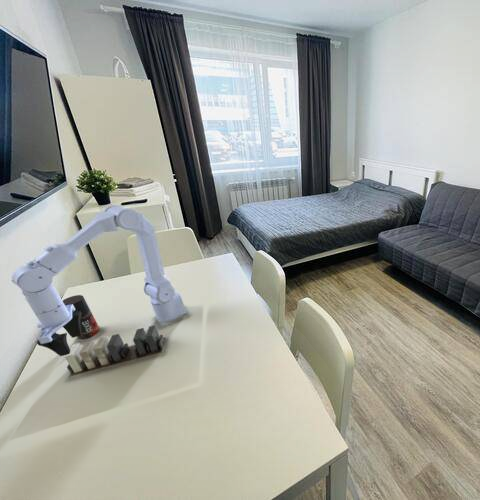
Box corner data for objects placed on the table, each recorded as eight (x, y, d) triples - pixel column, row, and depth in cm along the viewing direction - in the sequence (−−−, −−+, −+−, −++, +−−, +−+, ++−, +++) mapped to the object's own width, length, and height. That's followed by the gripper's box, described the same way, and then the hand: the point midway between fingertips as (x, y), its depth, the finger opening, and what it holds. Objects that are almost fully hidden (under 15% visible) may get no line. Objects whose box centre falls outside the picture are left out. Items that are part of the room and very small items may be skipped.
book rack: (166, 339, 92) (159, 322, 88) (162, 354, 86) (155, 336, 83) (80, 361, 84) (69, 343, 81) (70, 379, 78) (58, 360, 75)
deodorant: (88, 342, 91) (69, 306, 85) (74, 340, 92) (54, 304, 86) (105, 330, 96) (87, 296, 90) (91, 328, 98) (73, 294, 91)
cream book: (88, 358, 84) (79, 342, 81) (82, 371, 79) (72, 354, 77) (81, 360, 83) (72, 344, 80) (74, 373, 79) (64, 356, 76)
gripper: (44, 296, 77) (65, 332, 83) (12, 328, 65) (40, 368, 71) (74, 290, 79) (93, 326, 85) (49, 320, 67) (73, 359, 73)
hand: (71, 344), depth 78 cm, fingers open, 7 cm apart
